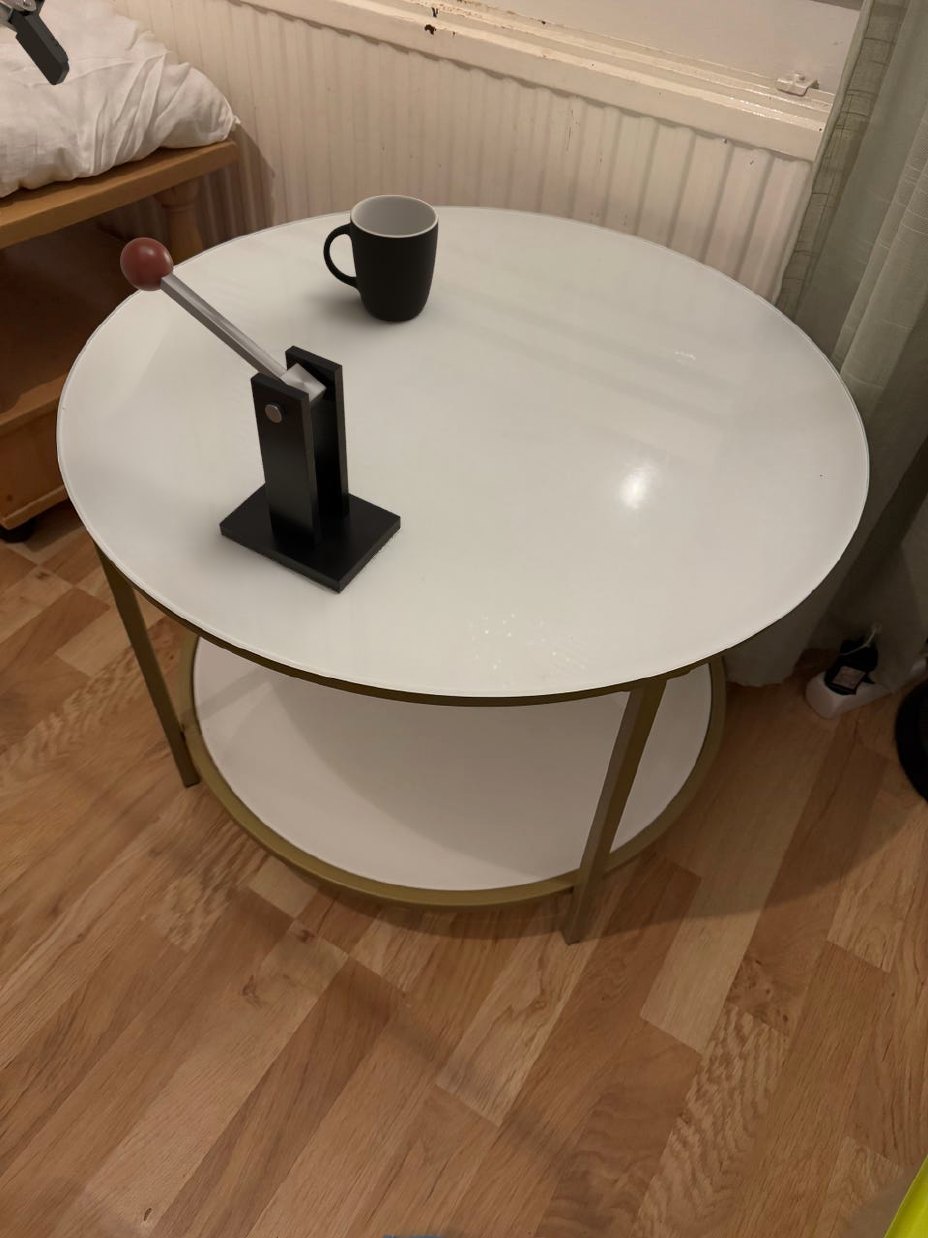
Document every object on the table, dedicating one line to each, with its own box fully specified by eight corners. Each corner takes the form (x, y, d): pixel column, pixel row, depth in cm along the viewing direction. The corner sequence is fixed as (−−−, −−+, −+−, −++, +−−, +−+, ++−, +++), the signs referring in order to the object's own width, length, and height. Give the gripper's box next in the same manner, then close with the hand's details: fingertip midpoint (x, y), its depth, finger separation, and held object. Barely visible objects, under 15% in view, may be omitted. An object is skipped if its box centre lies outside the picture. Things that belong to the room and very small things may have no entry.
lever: (106, 276, 65) (111, 238, 62) (142, 256, 67) (148, 218, 64) (292, 432, 66) (305, 402, 63) (321, 407, 68) (335, 377, 65)
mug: (439, 288, 102) (443, 198, 94) (430, 332, 96) (433, 240, 88) (333, 277, 102) (328, 187, 94) (318, 321, 96) (311, 228, 89)
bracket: (220, 534, 75) (187, 373, 63) (287, 475, 80) (268, 315, 68) (339, 593, 72) (329, 435, 60) (400, 527, 77) (402, 369, 65)
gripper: (-297, -194, 48) (-63, 96, 53) (-70, -223, 56) (112, 32, 62) (-301, -90, 53) (-89, 163, 59) (-94, -130, 62) (75, 96, 67)
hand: (14, 96), depth 60 cm, fingers open, 8 cm apart
